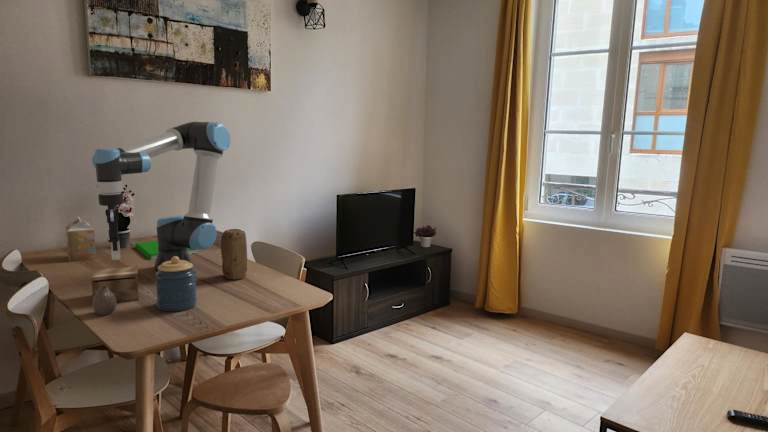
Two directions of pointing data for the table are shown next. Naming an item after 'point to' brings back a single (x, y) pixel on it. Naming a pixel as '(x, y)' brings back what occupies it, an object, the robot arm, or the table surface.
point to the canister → (176, 285)
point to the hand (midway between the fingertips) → (116, 258)
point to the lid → (114, 273)
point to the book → (153, 249)
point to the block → (234, 253)
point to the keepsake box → (119, 288)
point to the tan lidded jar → (80, 241)
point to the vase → (104, 301)
